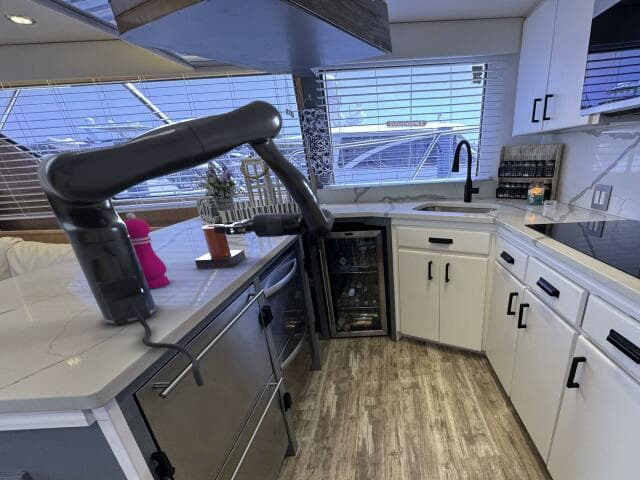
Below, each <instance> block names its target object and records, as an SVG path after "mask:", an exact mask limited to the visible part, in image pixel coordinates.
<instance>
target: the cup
mask: <svg viewBox="0 0 640 480" xmlns="http://www.w3.org/2000/svg"><path fill="white" fill-rule="evenodd" d="M215 226H225V225H224V224H209V225H204V226H202V227H201V229H202V232H203V236H204V240H205V243H206V247H207V250H208V253H209V254H210V256H211V257H222V256H226V255H229V254H231V252H230V251H231V248H230V244H229V239H228V235H226V233H215V230H214V227H215Z"/></svg>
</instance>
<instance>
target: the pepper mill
mask: <svg viewBox="0 0 640 480" xmlns="http://www.w3.org/2000/svg"><path fill="white" fill-rule="evenodd" d="M125 217H126V219H125V220H123V222H124V224H125V225H126V228H127V230H128V233H129V236H130V238H131V241H132V244H133V246H134V249H135V252H136V255H137V257H138V260H139V263H140V265H141V268H142V271H143V273H144V276H145V279H146V281H147V284H148V287H149V288H150V290H153V289H158V288H161V287H165V286H166V285H168V284H169V283H170V281H169V278H168V276H167V275H166V273H167V270H168V269H167V266H166V264H165V263H164V261H163V260H162V259H161V258H160V257H159V256H158V255H157V254H156V252H155V250H154V249H153V247H152V239H151V236H150V235H149V234H150V232H151V227H150V225H149V224H148V223H147V222H146V220H143V219H141V218H136V215H135V213H133V212H127V213H126V215H125Z"/></svg>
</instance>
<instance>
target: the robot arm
mask: <svg viewBox="0 0 640 480" xmlns="http://www.w3.org/2000/svg"><path fill="white" fill-rule="evenodd" d="M282 128H283V118H282V115H281V113H280V111H279V110H278V109H277V107H275V106H274V105H273V104H272V103H270V102H268V101H266V100H260V99H259V100H258V99H257V100H252V101H251V102H249V103H247V104H245V105H242V106H240V107H238V108H234V109H232V110H230V111H227V112H223V113H218V114H211V115H204V116H200V117H194V118H189V119H185V120H180V121H176V122H172V123H168V124H164V125H162V126H159V127H156V128H153V129H150V130H148V131H145V132H144V133H141V134H139V135H137V136H135V137H133V138H131V139H129V140H126V141H125V142H121V143H117V144H113V145H107V146H103V147H96V148H91V149H84V150H75V151H64V152H59V153H55V154H51V155H48V156H46V157H44V158H43V159H42V160H41V161H40V162H39V165H38V166H37V170H36V174H37V179H38V182H39V185H40V187H41V190H42V192H43V194H44V196H45V198H46V200H47V203H48V205H49V207H50V208H51V211H52V212H53V215H54V217H55V219H56V222H57V224H58V225H59V227H60V229H61V230H62V232H63V233H64V234H65V236H66V238H67V240H68V242H69V244H70V246H71V248H72V251H73V253H74V255H75V258H76V260H77V262H78V265H79V266H80V269H81V270H82V273H83V275H84V278H85V281H86V282H87V284H88V287H89V289H90V291H91V293H92V295H93V297H94V299H95V302H96V304H97V306H98V308H99V310H100V313H101V314H102V315H101V316H102V317H103V320H104V323H105V324H108V325H115V326H116V327H118V326H121V325H125V324H129V323H133V322H137V321H138V322H139V323H140V324H141V326H142V327H143V328H144V331H145V334H144V336H143V338H142V344H143V345H145V346H146V347H149V348H158V349H159V348H160V349H173V350H177V351H178V352H181V353H183V354H184V355H185V356H186V357H187V358H188V359H189V361H190V362H191V364H192V375H193V378H194V381H195V383H196V385H197V387H203V386H204V383H205V382H204V380H203V378H202V375H201V372H200V368H199V367H200V366H199V361H198V359H197V357H196V356H195V354H193V352H192V351H191V350H190V349H188V348H187V347H185V346H183V345H181V344H177V343H169V342H167V343H165V342H163V343H162V342H152V341H149V339H150V338H151V336H152V330H151V327H150V325H149V324H148V322H147V321H146V320H145V319H148V318H150V317H152V315H153V314H155V313H156V312H157V311H158V306H157V304H156V302H155V300H154V297H153V295H152V292H151V289H150V288H149V287H148V284H147V281H146V279H145V276H144V273H143V271H142V268H141V265H140V263H139V260H138V257H137V255H136V252H135V249H134V246H133V244H132V241H131V238H130V236H129V233H128V230H127V228H126V225H125V224H124V220H122V219H121V217H120V216H119V214H118V213H117V211H116V208H115V207H114V204H113V202H112V198H113V197H116V196H118V195H119V194H122V193H123V192H126V191H127V190H130V189H132V188H134V187H136V186H138V185H140V184H143V183H145V182H148V181H151V180H154V179H159V178H163V177H169V176H172V175H176V174H179V173H183V172H185V171H189V170H192V169H195V168H198V167H201V166H203V165H206V164H208V163H211V162H213V161H215V160H217V159H219V158H222V156H225V155H227V154H228V153H230V152H231V151H234V150H235V149H237V148H239V147H240V146H243V145H248V146H249V147H250V148H251V150H253V152H255V154H256V155H257V156H258V157H259V159H261V161H262V162H263V163H264V164H265V165H266V166H267V167H268V168H269V169H270V171H271V172H272V173H273V174H274V175H275V177H276V178H277V179H278V180H279V182H280V183H281V184H282V186H283V187H284V189H285V190H286V192H287V193H288V195H289V196H290V198H291V199H292V200H293V202H294V204H295V205H296V206H297V208H298V209H299V211H300V212H284V213H282V212H281V213H280V212H267V213H264V212H263V213H255V214H253V216H252V218H244V219H240V220H229V221H227V222H226V223H227V224H226V225H224V226H215V227H214V230H215V233H226V236H231V235H246V234H252V232H253V233H254V234H255V236H256V237H258V238H278V237H280V238H281V237H286V236H299V235H300V236H301V235H303V234H304V233H305V232H307V231H310V233H311V234H313V236H315V237H317V238H320V239H321V238H322V239H323V238H326V237H328V236H329V235H330V234H331V232H332V229H333V226H334V223H335V216H334V215H333V213H332V212H331V211H330V210H328V209H325V208H321V206H320V199H319V197H318V194H317V193H316V191H315V189H314V187H313V186H312V185H311V183H310V181H309V180H308V178H307V177H306V175H305V174H304V173H303V172H302V171H301V170H300V169H299V168H298V167H296V166H295V165H294V164H293V163H292V162H291V161H290V160H288V159H287V158H286V157H285V156H284V154H283V153H282V152H281V150H280V149H279V148H278V147H277V145H276V143H275V141H274V139H276V137H278V135H280V133H281V131H282ZM231 229H232V230H231Z"/></svg>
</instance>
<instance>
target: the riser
mask: <svg viewBox="0 0 640 480" xmlns="http://www.w3.org/2000/svg"><path fill="white" fill-rule="evenodd" d="M230 252H231V254H229V255H226V256H222V257H211V256H210V254H209V252H208V253H206V254H204V255H202V256H200V257H198V258H196V259H194V262H195V265H196V269H197V270H201V269H205V270H206V269H226V268H227V269H229V268H230V269H231V268H232V267H234V266H236V265H238V264H239V263H240V262H242V261H243V260H245V259H246V254H245V250H244V249H235V250H234V249H233V250H231V249H230Z"/></svg>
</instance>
